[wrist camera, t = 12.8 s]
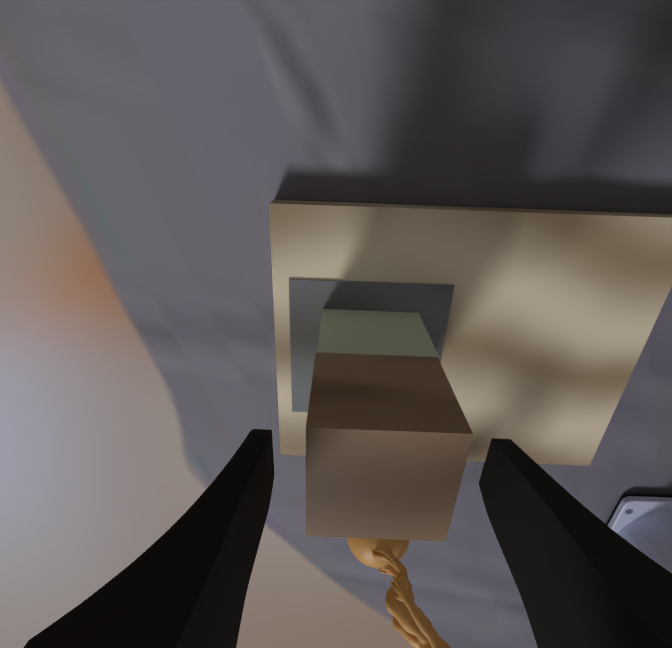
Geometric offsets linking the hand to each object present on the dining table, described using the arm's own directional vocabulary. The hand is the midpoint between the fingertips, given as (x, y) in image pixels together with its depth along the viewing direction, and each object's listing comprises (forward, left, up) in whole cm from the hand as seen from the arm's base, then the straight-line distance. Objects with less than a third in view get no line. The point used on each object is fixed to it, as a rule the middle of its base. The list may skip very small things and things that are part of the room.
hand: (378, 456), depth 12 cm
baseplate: (0, -4, -8) cm, 9 cm away
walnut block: (0, 0, -3) cm, 3 cm away
